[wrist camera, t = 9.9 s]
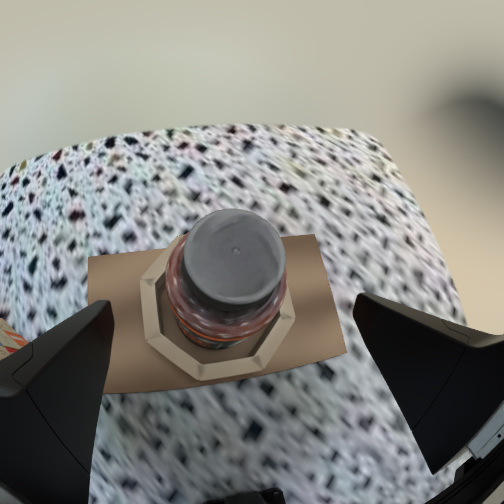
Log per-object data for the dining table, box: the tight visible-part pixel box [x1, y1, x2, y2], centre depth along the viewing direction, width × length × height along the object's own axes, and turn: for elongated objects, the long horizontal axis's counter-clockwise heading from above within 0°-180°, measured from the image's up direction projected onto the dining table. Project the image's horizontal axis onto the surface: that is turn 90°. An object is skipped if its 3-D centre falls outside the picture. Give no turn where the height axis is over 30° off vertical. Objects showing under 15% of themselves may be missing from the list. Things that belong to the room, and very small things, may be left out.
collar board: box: [88, 234, 347, 394], centre depth 20 cm, size 11×20×4 cm, turn 101°
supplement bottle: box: [165, 209, 287, 350], centre depth 16 cm, size 6×6×11 cm
